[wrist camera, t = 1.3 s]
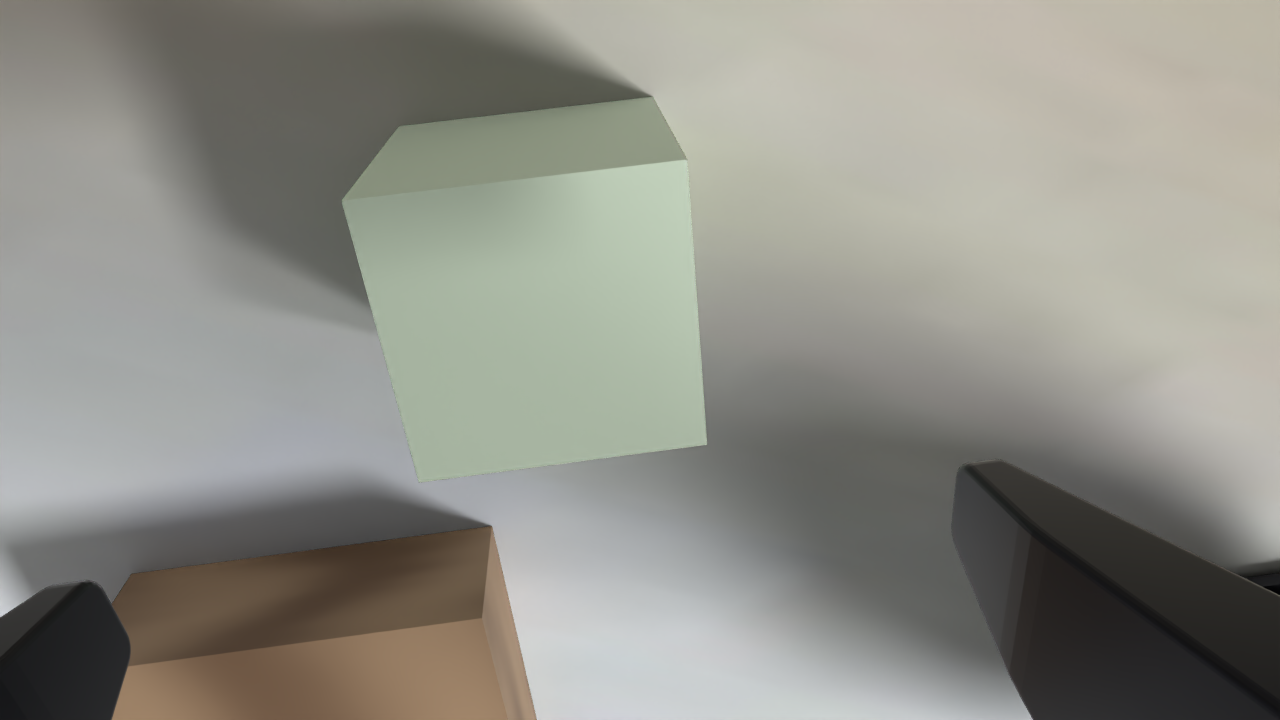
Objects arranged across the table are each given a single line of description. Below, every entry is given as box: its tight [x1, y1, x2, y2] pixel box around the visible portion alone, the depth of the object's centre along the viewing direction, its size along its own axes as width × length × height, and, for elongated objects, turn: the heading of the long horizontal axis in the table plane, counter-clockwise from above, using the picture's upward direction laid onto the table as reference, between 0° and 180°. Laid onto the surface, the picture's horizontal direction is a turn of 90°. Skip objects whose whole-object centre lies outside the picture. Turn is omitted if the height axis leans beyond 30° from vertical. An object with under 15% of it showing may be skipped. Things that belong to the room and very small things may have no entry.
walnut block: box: [112, 526, 537, 720], centre depth 22 cm, size 9×9×4 cm
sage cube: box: [342, 97, 707, 483], centre depth 15 cm, size 5×5×5 cm
